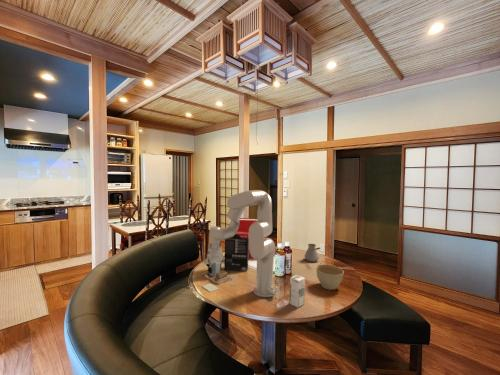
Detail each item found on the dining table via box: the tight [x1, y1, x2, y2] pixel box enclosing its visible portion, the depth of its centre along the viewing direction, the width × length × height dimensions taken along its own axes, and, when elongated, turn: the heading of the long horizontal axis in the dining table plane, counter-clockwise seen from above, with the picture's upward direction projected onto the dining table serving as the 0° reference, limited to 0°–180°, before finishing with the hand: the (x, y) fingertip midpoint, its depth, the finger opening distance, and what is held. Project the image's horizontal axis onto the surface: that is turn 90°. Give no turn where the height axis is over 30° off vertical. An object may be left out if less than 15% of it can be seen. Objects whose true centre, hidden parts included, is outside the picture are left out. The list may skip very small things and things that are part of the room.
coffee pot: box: [304, 243, 321, 263], centre depth 184 cm, size 21×12×15 cm, turn 8°
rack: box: [202, 270, 233, 285], centre depth 153 cm, size 18×11×2 cm, turn 42°
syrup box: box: [288, 274, 306, 308], centre depth 122 cm, size 6×6×14 cm
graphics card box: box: [223, 232, 249, 272], centre depth 167 cm, size 17×7×27 cm, turn 85°
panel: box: [208, 262, 221, 278], centre depth 155 cm, size 8×3×10 cm, turn 42°
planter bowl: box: [315, 264, 345, 291], centre depth 143 cm, size 16×16×11 cm
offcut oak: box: [215, 274, 230, 282], centre depth 149 cm, size 4×8×2 cm, turn 133°
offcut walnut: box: [216, 270, 229, 279], centre depth 149 cm, size 4×6×2 cm, turn 140°
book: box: [237, 217, 269, 259], centre depth 194 cm, size 27×8×32 cm, turn 88°
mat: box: [201, 282, 219, 293], centre depth 139 cm, size 9×6×1 cm, turn 42°
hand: (214, 271), depth 156 cm, fingers open, 6 cm apart
